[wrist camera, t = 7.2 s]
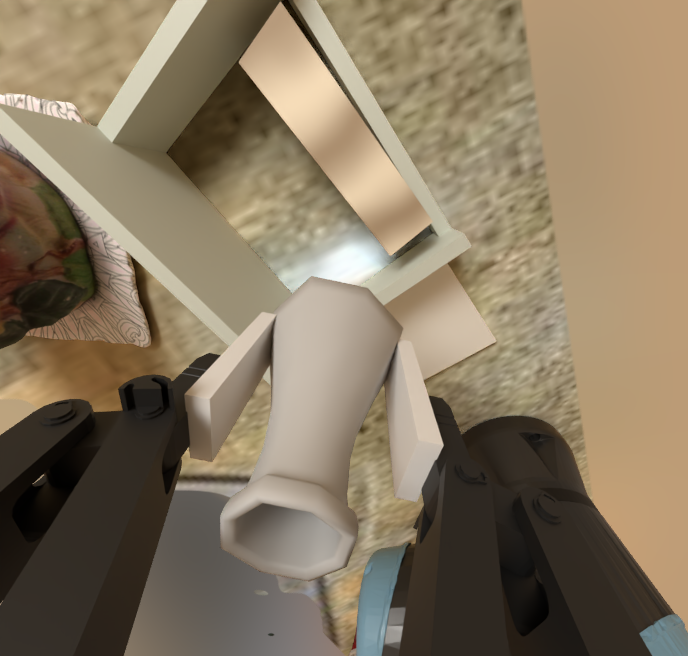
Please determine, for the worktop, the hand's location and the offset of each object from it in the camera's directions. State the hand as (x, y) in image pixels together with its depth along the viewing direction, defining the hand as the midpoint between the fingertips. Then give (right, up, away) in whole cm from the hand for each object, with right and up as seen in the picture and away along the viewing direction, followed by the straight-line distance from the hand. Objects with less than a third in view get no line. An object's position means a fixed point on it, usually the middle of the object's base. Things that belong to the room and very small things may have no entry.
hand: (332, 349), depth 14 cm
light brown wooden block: (+1, +17, +10) cm, 19 cm away
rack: (-3, +14, +11) cm, 18 cm away
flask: (0, +1, +1) cm, 1 cm away
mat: (+10, +1, +17) cm, 19 cm away
